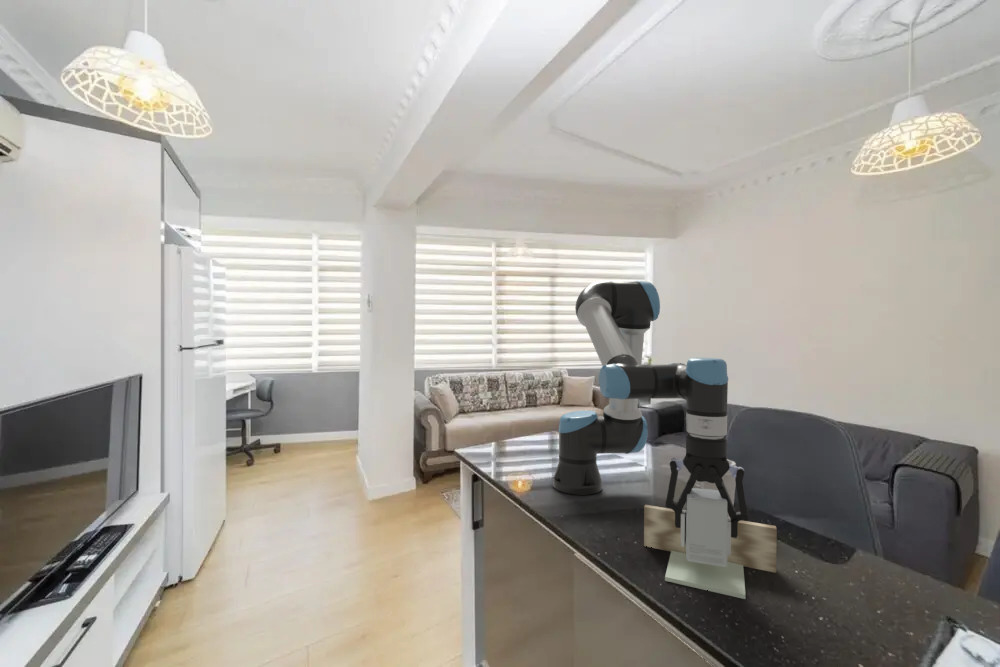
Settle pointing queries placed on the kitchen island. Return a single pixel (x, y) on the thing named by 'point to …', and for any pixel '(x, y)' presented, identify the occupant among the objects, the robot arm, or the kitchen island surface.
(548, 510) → the kitchen island surface
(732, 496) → the coffee cup
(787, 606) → the kitchen island surface
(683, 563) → the sage pad
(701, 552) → the supplement box
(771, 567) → the wooden screen
